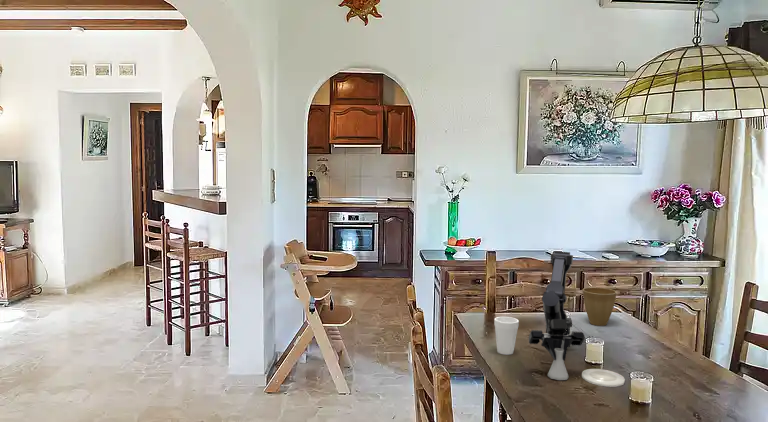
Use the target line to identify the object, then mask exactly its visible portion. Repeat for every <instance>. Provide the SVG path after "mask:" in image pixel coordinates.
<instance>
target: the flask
mask: <svg viewBox="0 0 768 422" xmlns="http://www.w3.org/2000/svg"><path fill="white" fill-rule="evenodd" d="M554 350H555V354H556V360H554V359H553V361H552V363H551V366H550V368H549V371H548V373H547V377H548V378H549V379H552V380H557V381H567V380H568V379H569V374H568V373H569V372H568V371H567V368H566V365H565V361H564V360H563V352H564V350H563V349H561V348H555V349H554Z"/></svg>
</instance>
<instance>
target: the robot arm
mask: <svg viewBox="0 0 768 422" xmlns="http://www.w3.org/2000/svg"><path fill="white" fill-rule="evenodd" d="M573 261H574V255H572V254H571V252H570V251H569V252H568V251H557V250H555V251H554V253H550V262H549V263H550V264H552V271H551V279H550V283H548V285H546V287H545V288H546V289H545V291H543V294H542V297H541V299H542V300H541V301H542V304H543V305H542V306H543V307H542V308H543V315H544V320H545V321H544V322H545V333H543V330H542V329H541V330H540V329H539V330H538V329H532V330H531V331H530V332H529V336H528V344H529V345H538V344H539V343H540V342H541V346H542V347H544V348H545V349H546V350H547V352H548V353H549V354H550V356H551V357H552V359H553V361H554V360H556V354H555V350H554V349H555V348H561V349H563V350H564V352H563V360H564V362H565V360H566V357H567V352H568V348H570V347H571V346H578V347H579V346H582V345H583V343H584V340H586V336H585V333H584V332H583V331H574V330H573V331H571V328H572V327H573V320H572V317H568V315H567V313H566V311H565V303H566V302H567V298H568V297H567V295H566V282H567V281H566V280H567V274H568V273H569V271H570V269H571V267H572V265H573V263H574V262H573Z"/></svg>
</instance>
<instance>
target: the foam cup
mask: <svg viewBox="0 0 768 422" xmlns="http://www.w3.org/2000/svg"><path fill="white" fill-rule="evenodd" d="M493 322H494V323H493V324H494V332H495V340H496V341H495V343H496V352H497V353H498V354H501V355H507V356H508V355H513V354H514V351H515V347H516V340H517V335H518V328H519V325H520V324H519V323H520V321H519V319H518V318H515V317H511V316H497V317H494V321H493Z"/></svg>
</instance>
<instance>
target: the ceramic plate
mask: <svg viewBox="0 0 768 422" xmlns="http://www.w3.org/2000/svg"><path fill="white" fill-rule="evenodd" d="M581 378H582V379H583V380H584V381H586V382H587V383H589V384H591V385H595V386H599V387H605V388H606V387H607V388H615V387H617V388H618V387H621V386H623V385H625V381H626V379H625V377H624V376H623V375H621V374H619V373H618V372H616V371H612V370H609V369H608V370H607V369H603V368H588V369H585V370H583V371H582V372H581Z"/></svg>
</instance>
